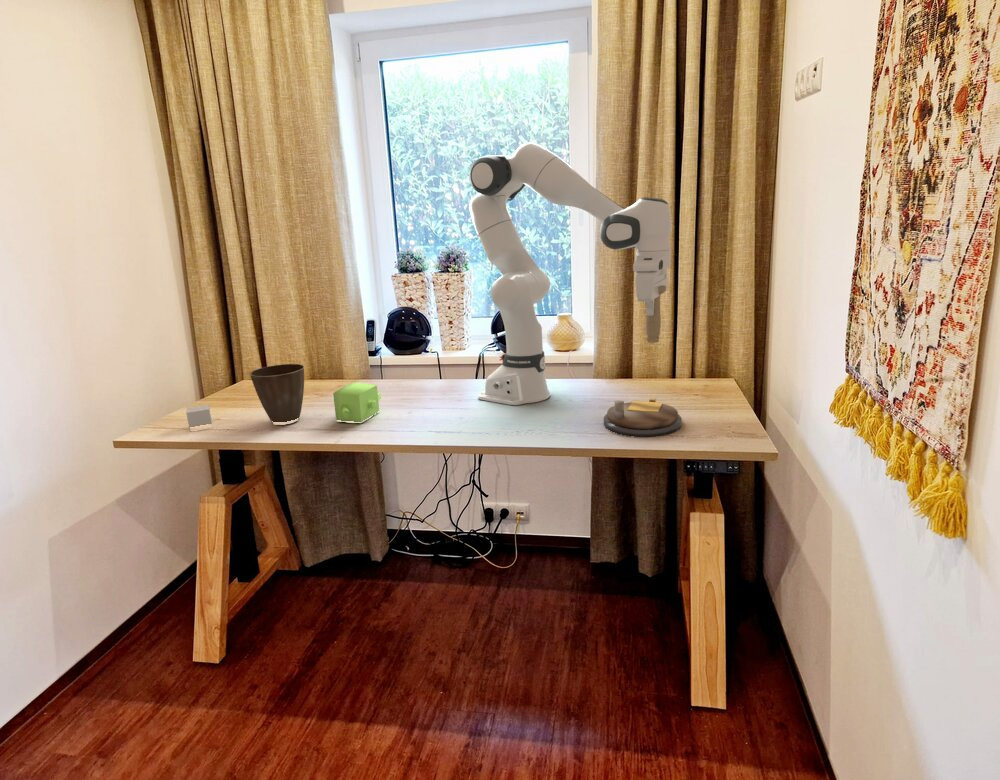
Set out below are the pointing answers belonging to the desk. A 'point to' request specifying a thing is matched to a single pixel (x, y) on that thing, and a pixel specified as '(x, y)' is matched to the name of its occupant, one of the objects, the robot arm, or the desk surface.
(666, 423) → the disc
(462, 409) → the desk surface
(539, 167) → the robot arm
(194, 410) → the grey cube
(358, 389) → the gearbox
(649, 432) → the wheel base
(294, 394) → the plant pot
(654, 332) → the handle
